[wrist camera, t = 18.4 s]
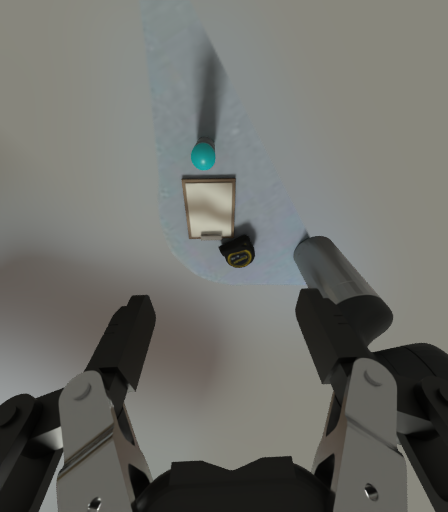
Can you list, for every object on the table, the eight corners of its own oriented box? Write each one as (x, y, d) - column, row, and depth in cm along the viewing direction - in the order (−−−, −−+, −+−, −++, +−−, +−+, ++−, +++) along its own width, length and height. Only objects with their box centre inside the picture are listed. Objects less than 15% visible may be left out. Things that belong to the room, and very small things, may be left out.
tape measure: (246, 230, 43) (249, 239, 40) (256, 252, 47) (259, 262, 44) (218, 241, 44) (218, 251, 41) (230, 263, 48) (231, 273, 45)
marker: (218, 145, 33) (220, 156, 25) (207, 160, 34) (205, 175, 27) (204, 130, 31) (200, 137, 24) (192, 147, 33) (186, 158, 25)
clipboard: (233, 236, 43) (234, 240, 42) (189, 237, 43) (188, 241, 42) (235, 178, 36) (235, 180, 35) (182, 178, 36) (180, 181, 34)
